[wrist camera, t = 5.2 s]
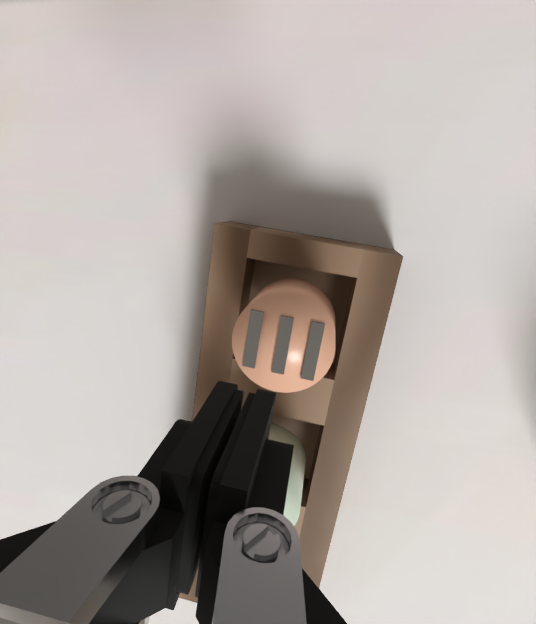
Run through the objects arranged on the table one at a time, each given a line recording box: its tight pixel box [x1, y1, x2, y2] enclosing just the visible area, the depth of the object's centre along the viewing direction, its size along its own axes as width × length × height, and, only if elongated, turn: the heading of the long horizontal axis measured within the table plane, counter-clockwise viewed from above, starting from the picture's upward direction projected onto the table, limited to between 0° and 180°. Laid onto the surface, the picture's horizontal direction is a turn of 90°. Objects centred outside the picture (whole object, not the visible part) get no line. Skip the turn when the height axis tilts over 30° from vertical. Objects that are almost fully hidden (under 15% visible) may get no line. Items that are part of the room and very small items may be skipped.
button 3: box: [232, 278, 335, 393], centre depth 20 cm, size 5×5×4 cm
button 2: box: [269, 423, 306, 526], centre depth 23 cm, size 5×5×4 cm
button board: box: [179, 221, 403, 603], centre depth 26 cm, size 10×27×3 cm, turn 171°
